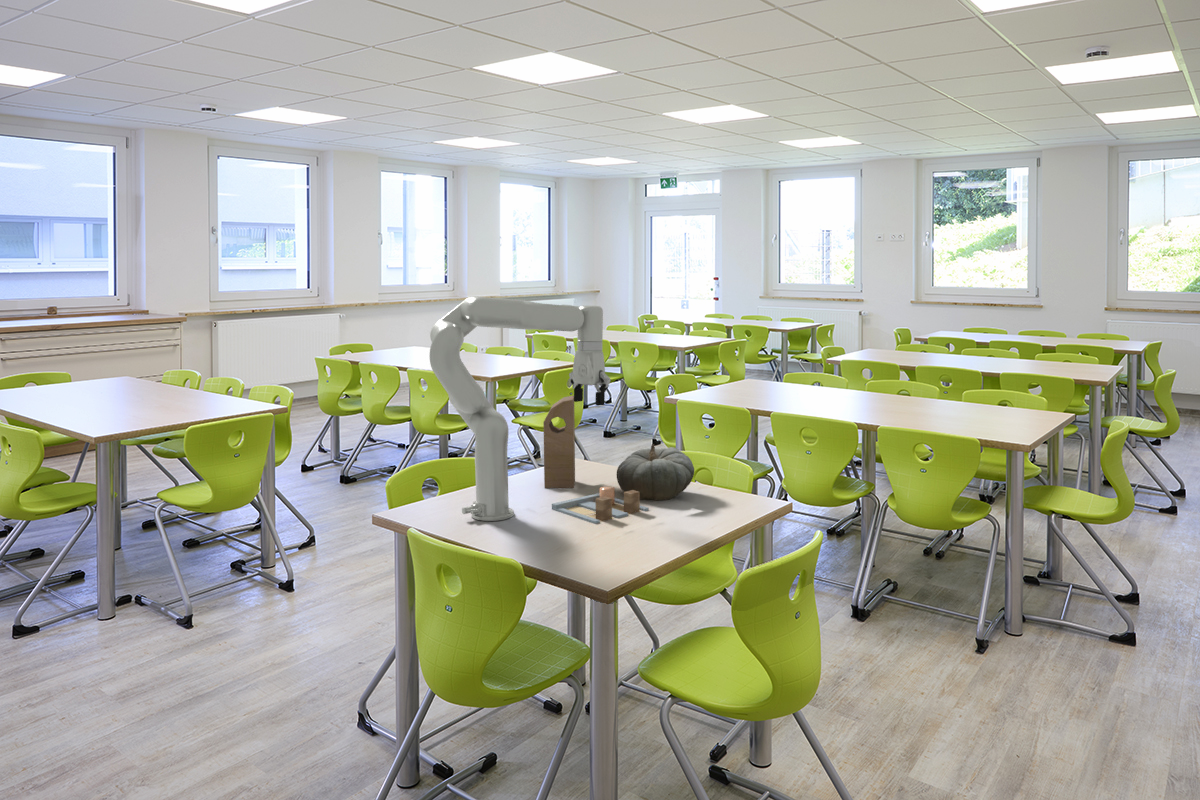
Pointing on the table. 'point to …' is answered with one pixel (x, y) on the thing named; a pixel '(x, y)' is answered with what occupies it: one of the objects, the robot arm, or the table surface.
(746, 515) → the table surface
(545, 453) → the decorative block
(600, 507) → the brown wooden block
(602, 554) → the table surface
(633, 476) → the gourd
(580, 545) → the table surface
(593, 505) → the lane frame
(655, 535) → the table surface
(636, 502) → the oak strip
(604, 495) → the peach rounded cylinder
